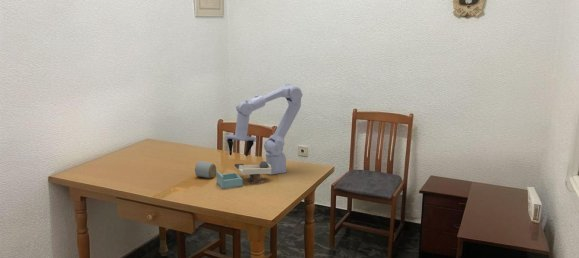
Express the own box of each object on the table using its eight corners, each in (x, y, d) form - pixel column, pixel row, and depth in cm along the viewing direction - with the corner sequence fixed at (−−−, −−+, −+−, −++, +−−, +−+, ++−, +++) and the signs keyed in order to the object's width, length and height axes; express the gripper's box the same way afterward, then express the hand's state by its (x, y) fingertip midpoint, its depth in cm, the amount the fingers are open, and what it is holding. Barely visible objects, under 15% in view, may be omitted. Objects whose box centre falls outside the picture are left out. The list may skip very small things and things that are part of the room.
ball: (265, 168, 236) (266, 160, 235) (268, 171, 232) (269, 162, 232) (257, 168, 234) (258, 160, 234) (260, 170, 231) (261, 162, 230)
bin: (236, 180, 234) (236, 168, 232) (242, 186, 226) (242, 173, 225) (216, 183, 230) (216, 171, 229) (222, 189, 222) (221, 176, 221)
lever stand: (258, 177, 238) (257, 169, 237) (264, 182, 231) (263, 174, 230) (246, 179, 235) (246, 171, 234) (251, 184, 228) (251, 176, 227)
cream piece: (260, 165, 244) (261, 158, 243) (271, 173, 232) (271, 166, 231) (233, 165, 238) (234, 158, 238) (242, 174, 226) (243, 167, 226)
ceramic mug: (210, 180, 234) (209, 164, 232) (194, 178, 237) (194, 162, 235) (220, 173, 244) (219, 158, 242) (205, 171, 246) (204, 157, 245)
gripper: (228, 127, 228) (224, 156, 230) (258, 130, 232) (255, 158, 234) (225, 124, 234) (222, 152, 237) (255, 127, 239) (251, 154, 241)
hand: (238, 155), depth 236 cm, fingers open, 7 cm apart
